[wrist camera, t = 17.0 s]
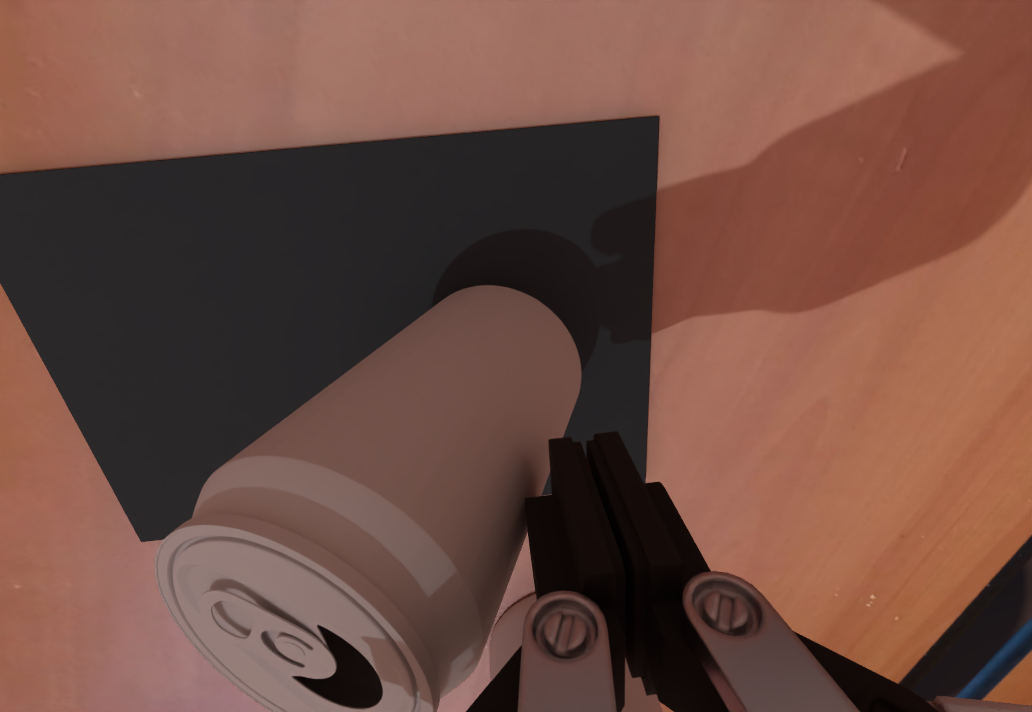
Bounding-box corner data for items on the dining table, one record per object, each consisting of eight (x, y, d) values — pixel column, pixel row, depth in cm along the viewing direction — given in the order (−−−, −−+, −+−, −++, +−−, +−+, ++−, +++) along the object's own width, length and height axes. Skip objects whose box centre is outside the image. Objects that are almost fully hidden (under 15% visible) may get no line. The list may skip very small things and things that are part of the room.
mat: (655, 116, 17) (659, 115, 16) (643, 478, 23) (645, 483, 23) (-45, 178, 16) (-57, 179, 16) (146, 536, 23) (140, 542, 22)
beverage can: (536, 452, 20) (385, 805, 10) (407, 373, 20) (127, 635, 10) (619, 338, 17) (523, 689, 6) (464, 244, 17) (131, 438, 7)
